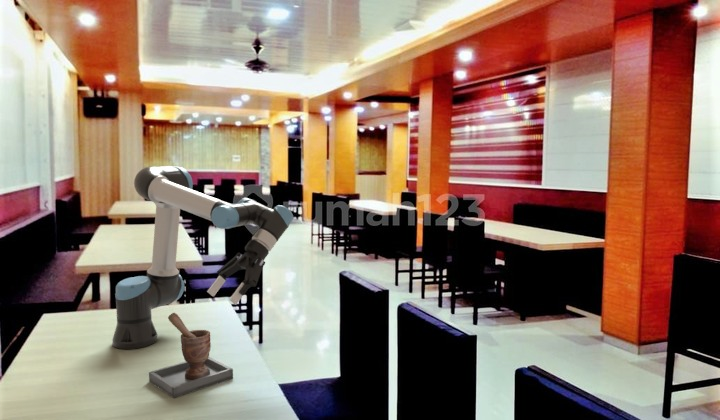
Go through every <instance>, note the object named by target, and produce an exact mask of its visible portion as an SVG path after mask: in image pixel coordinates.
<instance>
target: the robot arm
mask: <svg viewBox="0 0 720 420" xmlns="http://www.w3.org/2000/svg"><path fill="white" fill-rule="evenodd" d="M133 184H134V189H135V191H136V192H137V193H136V194H138V195H139V196H140V197H141V198H143V199H145V200H147V201H151V202H153V204H155V217H154V218H155V219H154V229H153V231H154V232H153V245H152V258H151V266H150V268H147V270H146V275H138V276H134V277H132V276H131V277H127V278H124V279H122V280H120V281H119V282H117V284H116V285H115V293H114V295H115V307H116V326H115V329H114V333H113V336H112V347H114V348H116V349H118V350H119V349H122V350H134V349H140V348H145V347H149V346H151V345H153V344H155V343H156V342H157V341H158V332H157V330H156V328H155V325H154V323H153V320H152V318H153V317H152V310H153V309H157V308H160V307H164V306H165V305H166V306H167V305H170V304H172V303H174V302H176V301H178V300H179V299H180V298H181V297H182V295H183V293H184V290H185V281H184V280H183V277H182V276H181V274H180V270H179V269H178V268H177V267H176V264H177V263H176V262H177V253H178V252H177V251H178V239H179V227H180V214H181V210H182V211H185V212H187V213H190V214H193V215H195V216H198V217H200V218H203V219H205V220H208V221H210V222H212V223H213V225H214V226H215V227H216V228H218V229H221V230H224V229H226V230H228V229H232V228H236V227H241V226H247V225H253V226H255V227H258V229H257V230H256V231H255V233H254V234H253V235H252V237H251V239H250V240H249V241H248V242H247V244H246V245H245V246H244V251H245V252H244V253H243V254H242V253H240V252H237V253H236V255H235V256H234V257H233V258H231V259H230V260H229V261H227V263H225V264H224V265H223V266H221V268H219V269H218V270H217V271H216V273H217V275H218V276H217V278H216V279H215V280H214V282H213V283H212V285H211V286H210V287H209V288H208V289H207V290H206V292H207V293H208V294H209V295H210V296H212V297H215V296H216V294H217V292H219V290H220V289H221V288H222V286H223V285H224V284H225V282H226V281H227V279H228V278H229V277H230V276H232V275H233V274H235V273H237V272H238V271H243V270H245V273H244V274H245V275H244V280H242V282H241V283H240V284H239V285H238V287H237V288H236V289H235V291H234V292H233V293H232V295H231V296H230V297H229V301H230V302H231V303H232V304H233V305H236V306H237V304H238V303H239V302H240V300H241V299H242V298H243V297H244V295H245V294H246V293H247V291H248V290H249V289H250V288H251V287H253V288H255V287H257V285H258V282H259V279H260V276H261V273H262V270H263V267H264V266H265V264H266V261H265V259H266V258H267V257H268V256H269V252H271V251H272V249H273V248H274V246H275V245H276V244H277V242H278V241H279V239H280V238H281V237H282V236H283V235H284V233H285V232H286V230H288V228H289V227H290V225H291V223H292V222H293V220H294V215H293V213H292V211H291V210H290V209H289V208H288V207H286V206H284V205H280V204H278V205H276V206H274V207H273V208H270V207H268V206H267V205H264V204H262V203H260V202H257V200H255V199H251V198H250V197H249V198H248V197H243V198H241V199H240V200H239V201H237V203H230V202H227V201H224V200H221V199H219V198H216V197H213V196H210V195H208V194H205V193H202V192H199V191H198V190H194V189H193V187H194V186H193V185H194V183H193V179H192V175H191V174H190V173H189V171H188V170H187V169H186V168H184V167H182V166H175V165H161V166H160V165H159V166H147V167H144V168H141V169H140V170H139V171H138V172H137V174H136V175H135V178H134V182H133Z"/></svg>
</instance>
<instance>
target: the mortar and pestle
mask: <svg viewBox="0 0 720 420" xmlns="http://www.w3.org/2000/svg"><path fill="white" fill-rule="evenodd" d="M167 318H168V321H169V322H170V323H171V324H172V325H173V326H174V327H175V328H176V329H177V330H178V332H180V333H181V335H180V343H181V345H180V346H181V353H182V355H183V359H184V362H185V361H186V362H188V363H189V366H190V367H189V368H188V369H187V370H186V373H185V378H186V379H190V380H195V379H198V378H201V377H204V376H208V375H210V370H209V368H208V367H207V366H206V365H205V361H206V360H207V359H208V357H210V351H211V348H212V347H211V346H212V344H211V332H210V331H209V330H207V329H192V330H189V329H188V328H187V326H186V324H185V323H184V322H183V320H182V319H181V317H180V315H178V314H177V313H176V312H172V313H171V314H169V316H168V317H167Z"/></svg>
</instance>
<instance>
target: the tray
mask: <svg viewBox="0 0 720 420" xmlns="http://www.w3.org/2000/svg"><path fill="white" fill-rule="evenodd" d="M205 365H206V366H207V367H208V368H209V370H210V375H208V376H204V377H201V378H198V379H195V380H190V379H186V378H185V373H186V370H187V369H188V368H189V367H190V366H189V363H188V362H186V361H185V360H184V361H182V362H178V363H175V364H173V365H170V366H166V367H162V368H158V369H155V370H152V371H148V381H149V383H150V384H152V385H154V386H155V387H157V388H158V389H159V390H161V391H163V392H164V393H165V394H167V395H168V396H169V397H171V398H173V399H175V398H179V397H182V396H185V395H187V394H190V393H194V392H198V391H199V390H202V389H205V388H208V387H211V386H215V385H218V384H220V383H221V384H222V383H224V382H226V381H230V380H233V379H234V369H233V368H232V367H230V366H228V365H226V364H224V363H222V362H220V361H218V360H216V359H214V358H212V357H210V356H209V357H208V359H207V360H206V361H205Z"/></svg>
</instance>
